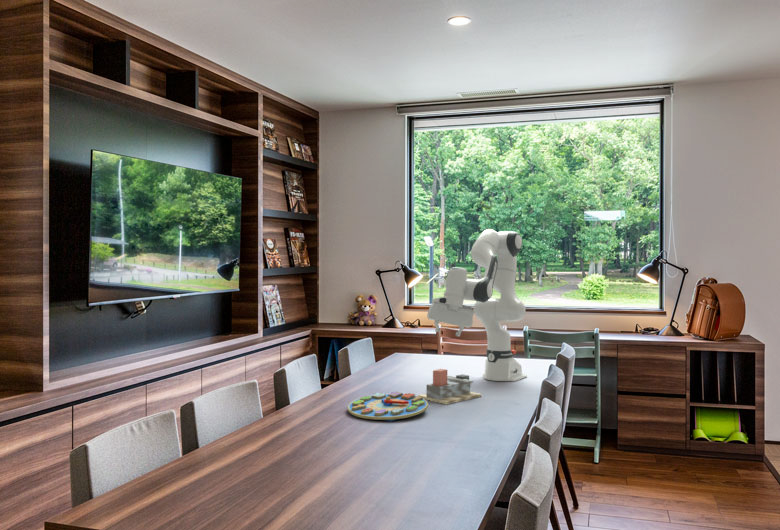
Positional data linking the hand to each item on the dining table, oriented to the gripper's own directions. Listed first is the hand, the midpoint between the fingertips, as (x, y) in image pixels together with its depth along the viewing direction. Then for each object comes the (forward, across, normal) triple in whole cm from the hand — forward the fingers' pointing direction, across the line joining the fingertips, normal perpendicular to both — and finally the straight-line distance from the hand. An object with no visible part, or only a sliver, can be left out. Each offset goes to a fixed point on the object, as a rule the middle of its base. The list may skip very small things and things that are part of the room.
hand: (447, 334), depth 274 cm
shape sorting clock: (+36, +26, +20) cm, 49 cm away
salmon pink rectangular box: (+25, +2, +7) cm, 26 cm away
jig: (+26, -4, +4) cm, 27 cm away
